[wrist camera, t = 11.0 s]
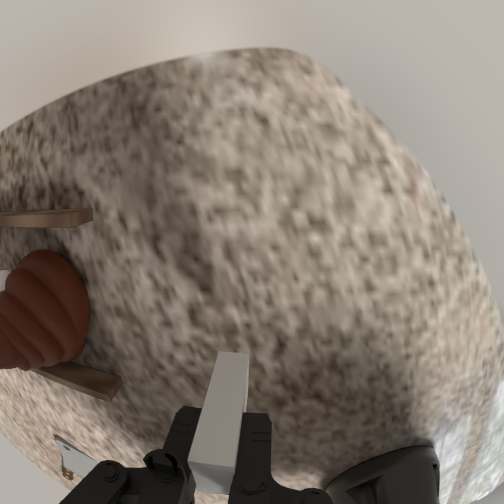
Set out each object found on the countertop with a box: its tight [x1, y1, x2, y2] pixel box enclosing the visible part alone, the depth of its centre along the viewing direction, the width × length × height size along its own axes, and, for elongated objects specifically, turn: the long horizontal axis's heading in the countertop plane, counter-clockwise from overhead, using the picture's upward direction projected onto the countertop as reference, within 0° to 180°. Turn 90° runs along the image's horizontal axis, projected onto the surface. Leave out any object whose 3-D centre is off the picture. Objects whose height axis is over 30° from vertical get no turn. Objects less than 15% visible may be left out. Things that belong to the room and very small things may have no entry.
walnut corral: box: [0, 208, 122, 402], centre depth 17 cm, size 16×15×2 cm
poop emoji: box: [0, 250, 90, 371], centre depth 14 cm, size 10×8×9 cm
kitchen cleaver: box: [54, 437, 97, 480], centre depth 29 cm, size 24×1×10 cm
